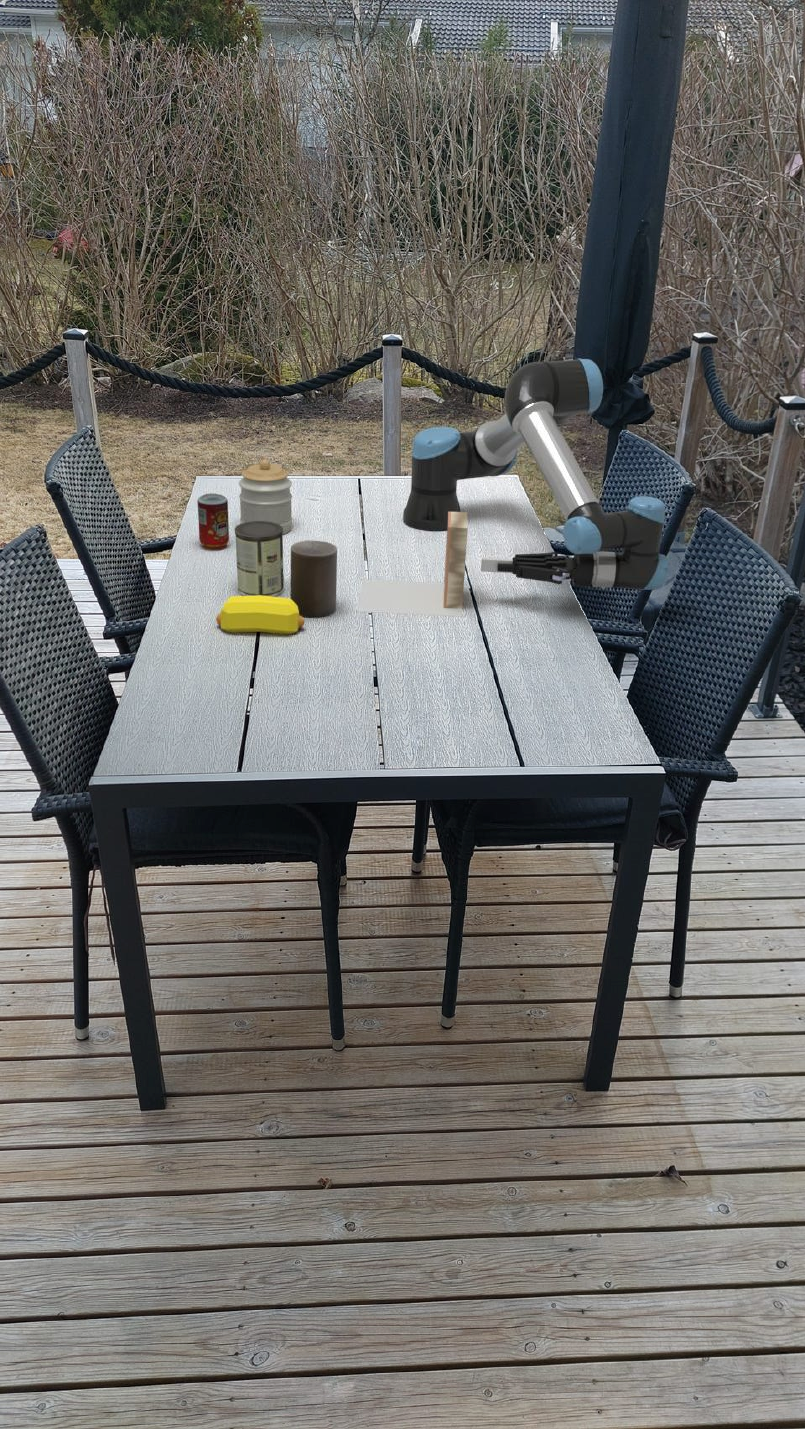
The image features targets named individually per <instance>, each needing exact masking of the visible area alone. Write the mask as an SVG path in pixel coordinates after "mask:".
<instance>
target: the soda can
mask: <svg viewBox="0 0 805 1429" xmlns="http://www.w3.org/2000/svg"><path fill="white" fill-rule="evenodd" d="M196 501H197V520H198V535H199V536H198V537H199V538H198V539H199V542H200V543H201V545H202V548H203V549H205V550H208V551H222V550H224V549H226V548H227V544H228V543H229V540H230V531H229V530H230V528H229V525H230V524H229V501H228V498H227V497H226V496H224V495H223V494H219V493H211V492H210V493H205V494H203V495H200V496H199V497H198V498H197V500H196Z"/></svg>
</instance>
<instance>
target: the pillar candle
mask: <svg viewBox="0 0 805 1429" xmlns="http://www.w3.org/2000/svg"><path fill="white" fill-rule="evenodd" d="M337 571H338V547H337V545H335V544H332V543H331V542H328V541H322V540H313V539H312V540H311V539H307V540H302V541H297V542H295V543H293V544H292V545H291V547H290V580H289V581H290V583H289V584H290V595H289V596H290V597H289V598H290V599H292V601H293V602H294V603H295V604H296V605H297V606H298V610H299V616H302V617H303V618H304V617H305V618H309V619H311V618H315V619H316V618H324V617H328V616H332V615H333V614H334V613H335V612H336V610H337V584H338V583H337V581H338V580H337V579H338V578H337V577H338V575H337V574H338V573H337Z"/></svg>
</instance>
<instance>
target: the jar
mask: <svg viewBox="0 0 805 1429" xmlns="http://www.w3.org/2000/svg"><path fill="white" fill-rule="evenodd" d="M241 475H242V478H241V479H240V480H239V482H238V486H239V487H240V490H241V491H240V493H239V495H238V497H239V507H240V509H239V510H240V519H239V521H240V522H239V525H240V524H242V523H246V522H251V521H268V522H273V523H277V524H279V525H281V526H282V527H283V535H285V534H287V533H289V532H291V530H292V526H293V516H292V498H293V494H292V493H291V489H290V488H291V487H292V485H293V482H292V481H291V480H290V478H288V476H289V472H288V471H287V470H286V469H284V468H283V467H282V466H280V465H277V464H273V463H272V464H271V462H270V460H269V459H266V458H263V459H261V460H260V462H259V464H258V463H257V464H254V465H253V464H252V465H249V466H248V467H247V468H246V469H244V470H243V471H242V472H241Z"/></svg>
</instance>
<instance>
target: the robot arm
mask: <svg viewBox="0 0 805 1429" xmlns="http://www.w3.org/2000/svg"><path fill="white" fill-rule="evenodd" d="M603 381H604V380H603V377H602V372H601V370H600V368H599V367H598V365H597V364H596V362H594V361H593V360H592V359H588V358H576V359H568V360H552V361H534V362H530V363H527V364H524V365H523V366H521V367H519V369H518V370H516V371H515V372H514V373H513V375H512V376H511V377H510V379H509V380H508V383H507V386H506V389H505V392H504V409H505V414H503V415H502V416H501V417H500V418H498V419H497V420H490V421H487V422H485V423H482V424H481V425H480V426H479V427H478V428H477V429H475V430H473V431H466V432H460V431H459V430H458V429H457V428H455V427H450V426H443V427H442V426H433V427H429V428H425V429H423V430H421V431H419V432H418V433H417V434H416V435H415V436H414V438H413V443H412V449H411V459H412V460H411V478H410V479H411V484H410V493H409V496H408V499H407V502H406V505H405V508H404V509H403V513H402V521H403V522H404V524H405V525H407V526H409V527H411V528H414V529H418V530H423V531H434V532H435V531H437V532H438V531H447V523H448V512H462V511H461V506H460V502H459V500H458V495H457V494H458V493H457V491H458V490H457V485H458V481H460V480H469V479H477V478H487V477H492V478H494V477H499V476H502V475H505V474H507V473H509V472H510V471H511V470H512V469H513V467H514V466H515V464H516V460H517V457H518V449H520V448H522V446H524V445H525V444H526V446H527V448H528V450H529V453H530V454H531V456H532V458H533V460H534V462H535V464H536V465H537V467H538V469H539V471H540V473H541V475H542V477H543V479H544V480H545V482H546V484H547V487H548V488H549V490H550V492H551V494H552V496H553V497H554V499H555V501H556V503H557V505H558V507H559V509H560V512H562V515H563V517H564V518H565V523H564V524H563V529H562V537H563V538H564V541H563V543H564V545H565V547H566V549H567V551H569V552H570V553H571V554H573V557H572V558H571V557H567V556H564V555H558V554H559V552H558V551H552V552H551V551H550V552H541V553H540V552H539V553H521V554H520V553H519V554H515V555H514V557H512V558H511V557H510V558H508V557H487V556H482V557H481V563H480V572H482V573H483V572H485V573H487V572H488V573H507V574H509V573H510V574H513V575H515V578H517V579H526V580H532V581H540V582H541V581H542V582H548V583H552V584H556V585H562V584H563V580H571V582H572V585H573V587H582V588H583V587H585V588H586V587H587V588H589V587H590V586H592V587H594V588H601V589H602V590H606V588H611V589H615V588H616V589H629V590H630V589H631V590H640V591H644V590H645V591H646V590H648V591H649V590H653V591H654V590H660V589H662V588H663V587H664V586H665V585H666V582H667V578H668V569H669V563H668V562H669V561H668V558H667V556H666V555H665V554H661V553H660V545H661V541H662V535H663V529H664V526H665V525H664V524H665V516H666V504H665V503H664V502H663V501H662V500H661V499H658V498H656V497H652V496H644V495H643V496H641V495H640V496H635V497H632V498H631V499H630V500H629V503H628V506H627V510H621V511H615V512H614V511H612V512H605V511H604V509H603V507H602V506H601V503H599V500H598V498H597V497H596V494H595V493H594V491H593V489H592V487H591V485H590V483H589V482H588V480H587V478H586V476H585V475H584V474H585V473H584V472H583V471H582V469H581V467H580V465H579V463H578V462H577V459H576V457H575V456H574V454H573V452H572V450H571V448H570V447H569V444H568V443H567V442H568V441H566V440H565V437H564V436H563V433H562V432H561V430H560V428H559V425H563V424H565V423H567V421H569V420H571V419H572V418H573V417H575V416H576V415H579V414H586V415H587V414H590V413H593V412H596V410H598V408H599V407H600V405H601V404H602V399H603V393H604V382H603ZM618 549H622V552H617V551H616V552H615V551H610V550H618Z"/></svg>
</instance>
